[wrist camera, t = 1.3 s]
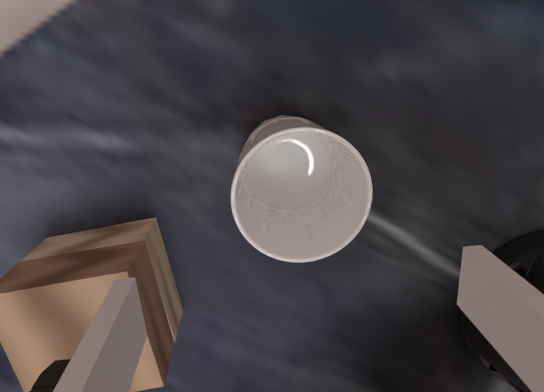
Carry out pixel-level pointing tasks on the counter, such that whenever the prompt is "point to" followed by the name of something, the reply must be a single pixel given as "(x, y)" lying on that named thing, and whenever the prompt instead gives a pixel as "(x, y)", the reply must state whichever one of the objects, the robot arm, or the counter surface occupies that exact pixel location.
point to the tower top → (78, 310)
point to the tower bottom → (123, 235)
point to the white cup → (299, 190)
